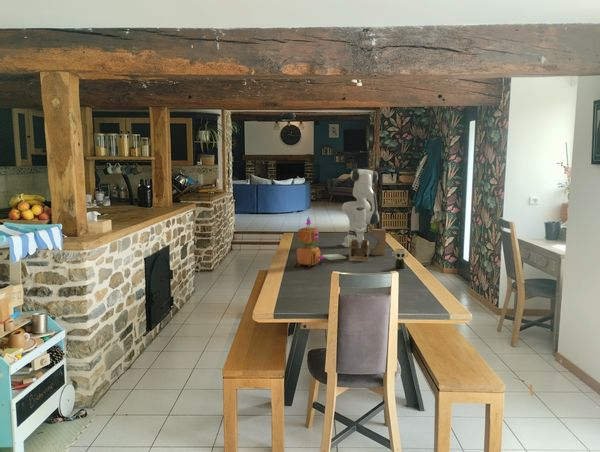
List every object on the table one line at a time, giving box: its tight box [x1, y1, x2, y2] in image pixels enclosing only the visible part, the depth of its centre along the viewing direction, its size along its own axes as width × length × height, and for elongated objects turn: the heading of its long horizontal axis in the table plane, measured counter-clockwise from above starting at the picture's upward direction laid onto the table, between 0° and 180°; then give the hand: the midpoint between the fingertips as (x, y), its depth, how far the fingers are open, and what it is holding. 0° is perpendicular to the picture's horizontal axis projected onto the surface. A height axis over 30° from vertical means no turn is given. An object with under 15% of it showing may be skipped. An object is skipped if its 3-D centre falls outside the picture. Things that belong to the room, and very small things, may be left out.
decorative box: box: [293, 216, 324, 270], centre depth 343 cm, size 19×21×35 cm
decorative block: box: [369, 228, 387, 256], centre depth 389 cm, size 11×6×20 cm, turn 89°
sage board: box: [321, 253, 347, 261], centre depth 377 cm, size 14×14×1 cm
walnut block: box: [356, 243, 362, 256], centre depth 376 cm, size 4×4×9 cm
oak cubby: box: [348, 239, 370, 262], centre depth 377 cm, size 26×14×12 cm, turn 172°
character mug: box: [391, 248, 409, 269], centre depth 341 cm, size 11×7×13 cm, turn 84°
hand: (359, 247), depth 376 cm, fingers open, 8 cm apart
